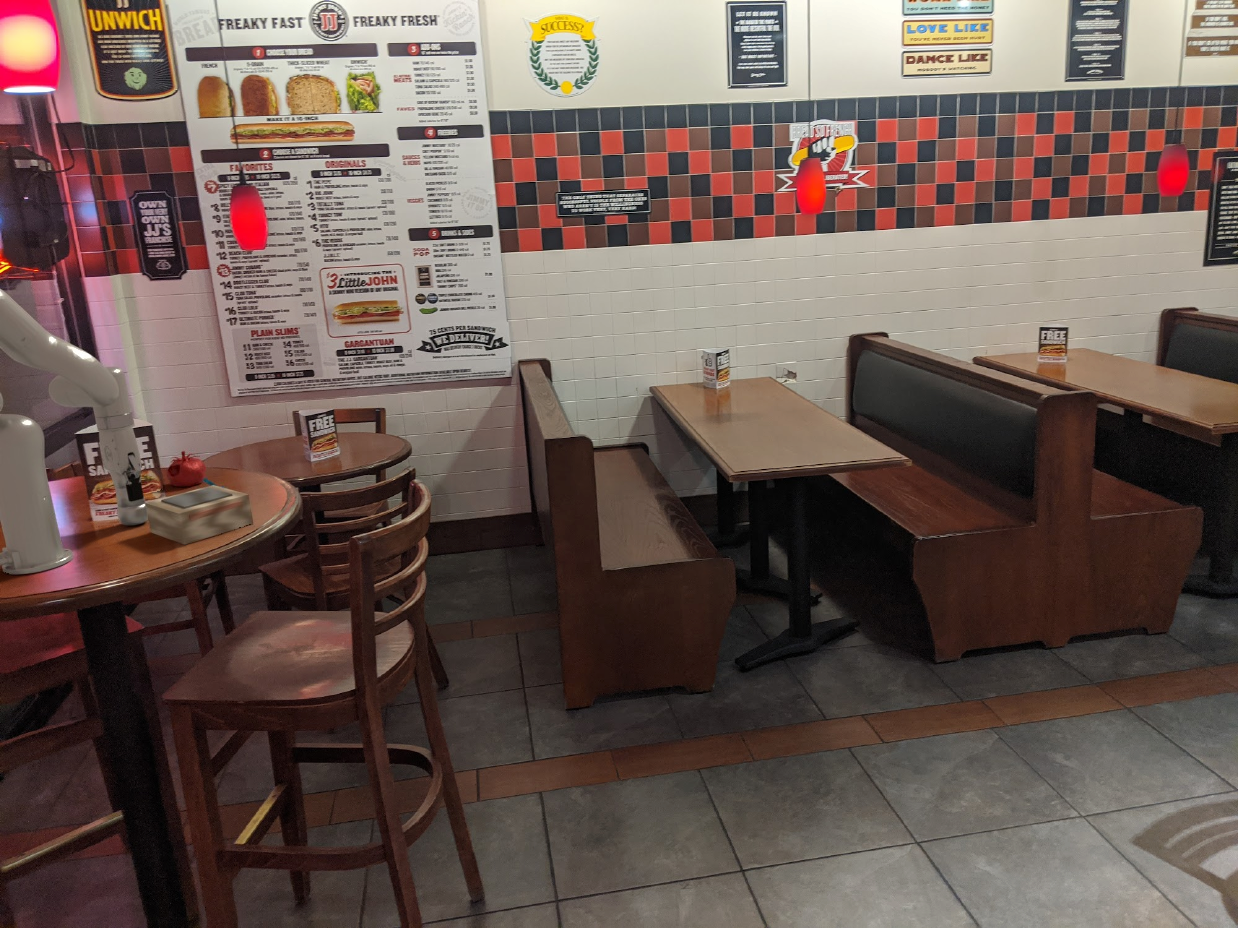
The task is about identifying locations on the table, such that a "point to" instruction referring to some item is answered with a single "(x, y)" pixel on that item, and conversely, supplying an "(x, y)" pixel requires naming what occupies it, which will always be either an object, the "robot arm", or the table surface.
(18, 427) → the robot arm
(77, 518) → the table surface
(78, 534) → the table surface
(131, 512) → the plastic bottle
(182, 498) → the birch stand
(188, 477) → the pomegranate
